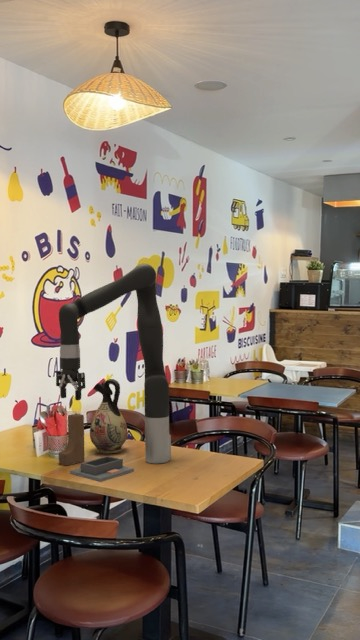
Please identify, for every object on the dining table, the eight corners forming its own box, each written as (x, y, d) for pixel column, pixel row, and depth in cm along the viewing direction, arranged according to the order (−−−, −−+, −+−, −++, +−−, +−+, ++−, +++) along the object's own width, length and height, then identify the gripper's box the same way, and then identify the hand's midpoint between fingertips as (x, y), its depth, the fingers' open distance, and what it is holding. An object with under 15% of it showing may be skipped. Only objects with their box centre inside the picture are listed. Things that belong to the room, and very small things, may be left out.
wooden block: (65, 466, 230) (64, 418, 229) (58, 464, 233) (57, 416, 233) (84, 461, 237) (84, 414, 236) (77, 459, 240) (76, 413, 239)
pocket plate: (103, 464, 232) (103, 453, 232) (133, 471, 222) (133, 460, 222) (70, 473, 220) (69, 462, 220) (100, 481, 210) (100, 469, 210)
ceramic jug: (81, 453, 249) (80, 379, 248) (105, 445, 263) (104, 375, 262) (115, 458, 240) (114, 381, 240) (138, 450, 254) (137, 377, 253)
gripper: (90, 356, 232) (90, 399, 232) (65, 354, 241) (66, 396, 241) (74, 358, 226) (75, 402, 227) (50, 356, 235) (50, 398, 236)
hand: (70, 399), depth 234 cm, fingers open, 8 cm apart
